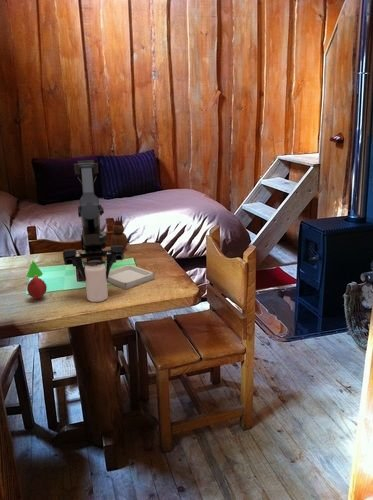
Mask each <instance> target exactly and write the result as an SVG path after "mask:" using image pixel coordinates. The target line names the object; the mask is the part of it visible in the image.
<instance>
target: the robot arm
mask: <svg viewBox="0 0 373 500" xmlns="http://www.w3.org/2000/svg"><path fill="white" fill-rule="evenodd" d="M73 166H74V172H75V173H74V174H75V175H76V176H77V179H78V180H79V182H80V183H81V188H82V189H81V190H82V195H81V197H80V199H79V205H78V206H77V215H78V218H81V226H82V233H81V234H80V240H81V241H80V243H81V250H82V252H80V251H77V250H76V249H77V248H70V249H64V250H63V251H62V257H63V263H64V265H66V266H68V265H70V266H71V265H72V266H73V267H76V268H77V270H78V271H79V273H80V275H81V277H82V279H83V281H84V282H86V279H85V267H84V265H86V261H83V259H85V260H86V259H87V258H89V261H92V260H101V261H103V262H104V264H106V265H105V267H106V278H107V279H108V276H109V272H110V270H112V269H111V268H112V266H113V265H114V264H115V263H117V261H123V260H124V256H125V255H124V253H125V250H124V249H123V246H122V245H117V246H112V245H110V249H109V250H108V249H107V250H105V249H106V248H107V242H108V238H107V231H106V230H105V231H102V228H101V217H102V216H103V214H104V213H105V212H104V211H105V210H104V207H102V204H100V203H99V202H100V201H99V198H98V196H96V193H95V186H94V183H95V181H96V179H97V174H99V164H98V162H95V160H94V159H90V160H89V159H88V160H77V163H74V164H73ZM104 257H106V260H103V258H104Z"/></svg>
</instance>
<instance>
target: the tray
mask: <svg viewBox="0 0 373 500" xmlns="http://www.w3.org/2000/svg"><path fill="white" fill-rule="evenodd" d="M155 275H156V274H155V272H152V271H149V270H146V269H144V268H141V267H138V266H136V265H132V264H130V263H129V264H127V265H126V264H125V265H123V266H120V267H117V268H113V269H110V272H109V276H108V279H107V284H108V283H109V284H111V285H114V286H116V287H118V288H120V289H123V290H125V291H126V290H129V289H132V288H134V287H137V286H140V285H144V284H146V283H148V282H151V281H153V280H155V279H156V276H155Z"/></svg>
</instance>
